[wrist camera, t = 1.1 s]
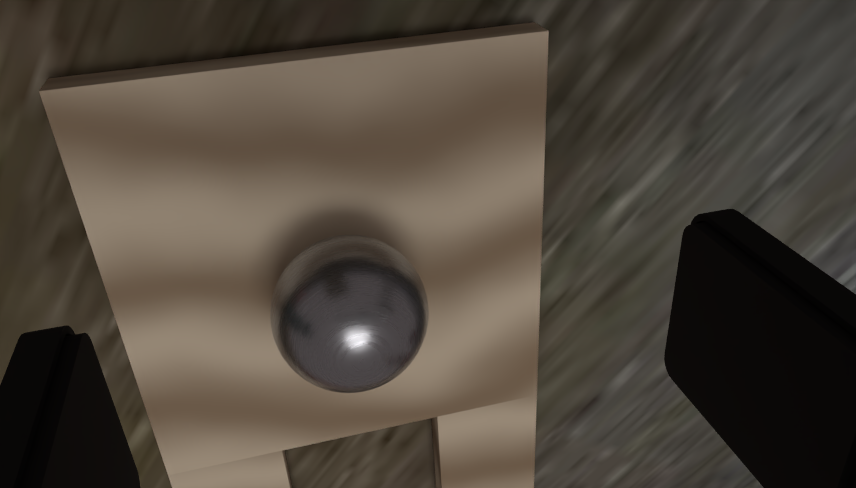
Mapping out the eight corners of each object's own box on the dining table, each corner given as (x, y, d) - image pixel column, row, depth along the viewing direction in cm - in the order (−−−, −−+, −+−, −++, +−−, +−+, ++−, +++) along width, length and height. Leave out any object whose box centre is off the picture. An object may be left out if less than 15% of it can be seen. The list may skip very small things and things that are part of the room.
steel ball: (404, 197, 29) (442, 273, 24) (413, 317, 32) (449, 407, 27) (254, 221, 28) (261, 306, 23) (278, 343, 31) (289, 442, 26)
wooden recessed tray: (48, 78, 25) (39, 91, 24) (534, 22, 28) (548, 30, 27) (219, 602, 40) (219, 627, 39) (522, 525, 43) (531, 546, 42)
